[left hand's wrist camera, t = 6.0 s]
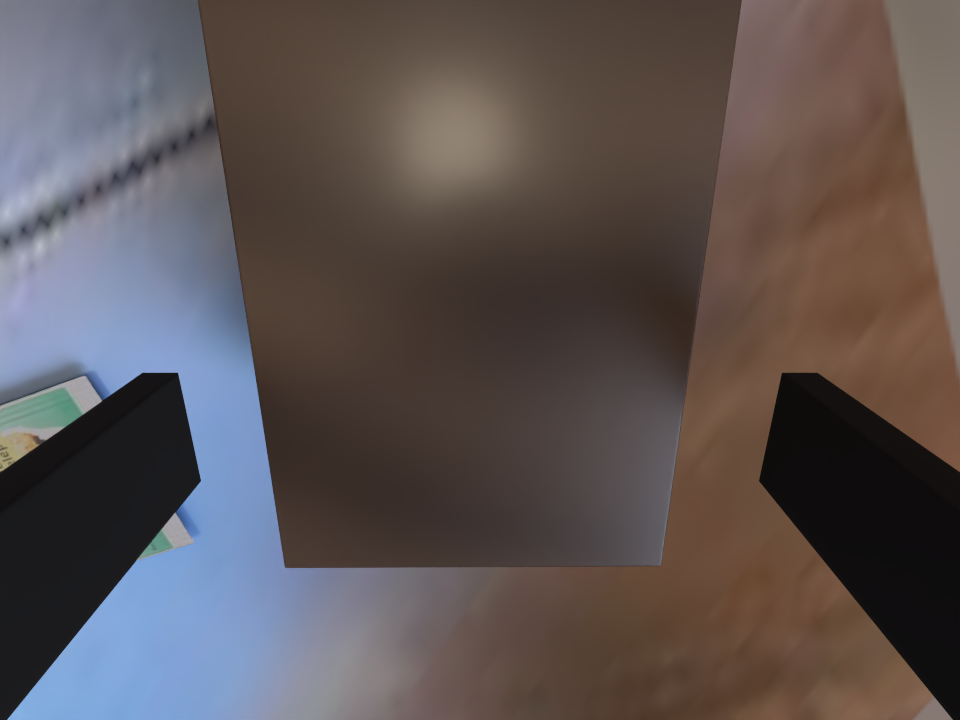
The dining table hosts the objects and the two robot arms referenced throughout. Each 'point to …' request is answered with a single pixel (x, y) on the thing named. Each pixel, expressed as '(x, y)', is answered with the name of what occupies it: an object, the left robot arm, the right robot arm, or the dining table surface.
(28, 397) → the baking ingredient package
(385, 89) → the taupe rectangular box
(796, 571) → the dining table surface
